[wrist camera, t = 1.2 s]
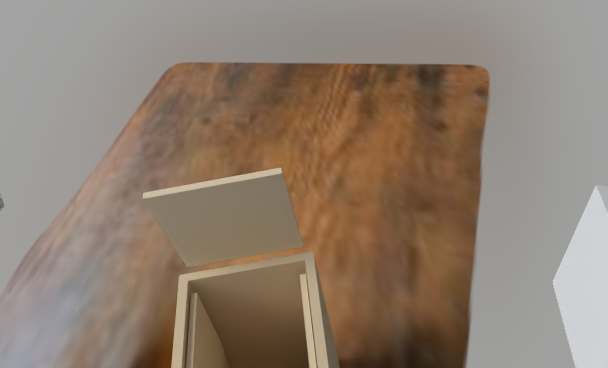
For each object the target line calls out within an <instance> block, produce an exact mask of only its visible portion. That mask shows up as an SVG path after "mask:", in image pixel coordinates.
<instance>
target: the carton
mask: <svg viewBox="0 0 608 368" xmlns="http://www.w3.org/2000/svg"><path fill="white" fill-rule="evenodd" d="M171 368H340V365H339V359H338V355H337V350H336V346H335V342H334V338H333V333H332V329H331V325H330V321H329V317H328V312H327V308H326V304H325V300H324V295H323V291H322V287H321V283H320V278H319V274H318V270H317V266H316V261H315V257H314V253H313V252H307V253H302V254H296V255H290V256H285V257H279V258H273V259H268V260H262V261H256V262H251V263H245V264H239V265H234V266H228V267H222V268H217V269H211V270H205V271H200V272H194V273H188V274H183V275H179V286H178V297H177V309H176V320H175V332H174V344H173V355H172V367H171Z"/></svg>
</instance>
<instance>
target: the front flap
mask: <svg viewBox="0 0 608 368" xmlns="http://www.w3.org/2000/svg"><path fill="white" fill-rule="evenodd" d="M143 200H144V201H145V203H146V204H147V206H148V208H149V209H150V211H151V212H152V214H153V215H154V217H155V218H156V220H157V221H158V223H159V225H160V226H161V228H162V229H163V231H164V232H165V234H166V235H167V237H168V238H169V240H170V241H171V243H172V245H173V246H174V248H175V249H176V251H177V252H178V254H179V255H180V257H181V258H182V260H183V262H184V263H185V265H186V266H187V267H191V266H197V265H202V264H208V263H214V262H219V261H225V260H231V259H236V258H242V257H247V256H253V255H259V254H264V253H270V252H276V251H281V250H287V249H293V248H298V247H303V243H302V239H301V235H300V232H299V228H298V225H297V221H296V218H295V214H294V211H293V207H292V204H291V200H290V197H289V193H288V190H287V186H286V183H285V179H284V176H283V172H282V169H281V168H277V169H271V170H266V171H260V172H255V173H249V174H244V175H239V176H233V177H228V178H222V179H217V180H211V181H206V182H200V183H195V184H190V185H184V186H179V187H173V188H168V189H162V190H157V191H151V192H146V193H143Z"/></svg>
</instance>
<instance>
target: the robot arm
mask: <svg viewBox="0 0 608 368" xmlns="http://www.w3.org/2000/svg"><path fill="white" fill-rule="evenodd" d="M3 207H4V204H3V201H2V198H1V195H0V210H1V209H2V208H3ZM552 283H553V286H554V290H555V294H556V297H557V301H558V304H559V308H560V312H561V315H562V319H563V323H564V327H565V331H566V334H567V338H568V342H569V345H570V349H571V353H572V356H573V360H574V364H575V367H576V368H608V187H606V186H598V185H596V187H595V189H594V191H593V193H592V196H591V198H590V200H589V202H588V204H587V207H586V209H585V211H584V213H583V215H582V218H581V220H580V222H579V224H578V227H577V229H576V231H575V233H574V235H573V238H572V240H571V242H570V244H569V246H568V249H567V251H566V253H565V255H564V258H563V260H562V262H561V264H560V267H559V269H558V271H557V273H556V276H555V278H554V280H553V282H552Z"/></svg>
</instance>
